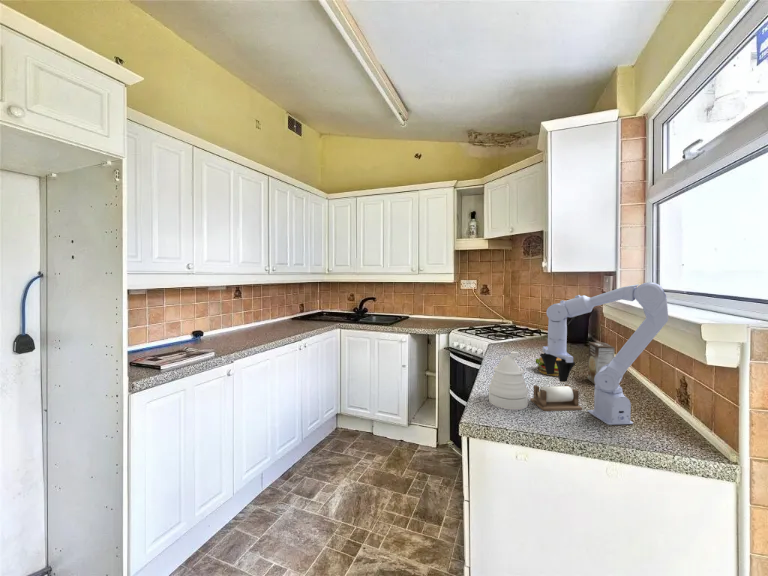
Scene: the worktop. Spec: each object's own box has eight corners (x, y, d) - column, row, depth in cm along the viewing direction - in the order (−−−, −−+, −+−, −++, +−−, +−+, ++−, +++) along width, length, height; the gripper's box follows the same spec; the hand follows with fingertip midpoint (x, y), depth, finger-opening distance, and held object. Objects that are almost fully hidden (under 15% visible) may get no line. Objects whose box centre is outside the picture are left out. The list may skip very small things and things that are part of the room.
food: (578, 374, 145) (578, 357, 145) (556, 379, 139) (556, 360, 139) (550, 366, 158) (551, 350, 157) (529, 370, 152) (530, 353, 151)
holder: (582, 410, 108) (582, 392, 108) (544, 411, 108) (544, 393, 107) (565, 399, 117) (566, 382, 117) (530, 400, 117) (530, 383, 116)
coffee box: (587, 378, 139) (588, 341, 138) (603, 379, 138) (604, 342, 137) (596, 386, 130) (597, 346, 129) (614, 387, 129) (615, 347, 128)
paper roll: (575, 404, 111) (579, 394, 109) (540, 405, 111) (544, 395, 108) (567, 393, 116) (571, 382, 113) (533, 394, 115) (537, 383, 112)
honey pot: (527, 398, 119) (527, 349, 118) (528, 412, 107) (529, 358, 106) (490, 393, 124) (490, 346, 123) (487, 406, 112) (487, 354, 111)
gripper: (534, 334, 119) (534, 371, 119) (558, 343, 104) (557, 385, 105) (553, 334, 119) (552, 371, 120) (579, 343, 105) (578, 384, 105)
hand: (556, 377), depth 112 cm, fingers open, 7 cm apart
